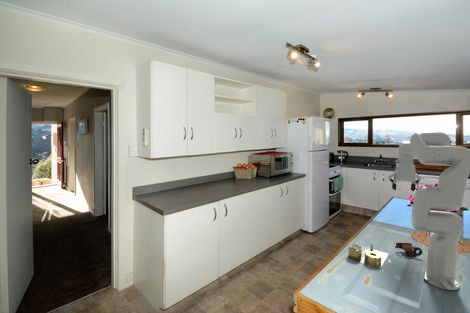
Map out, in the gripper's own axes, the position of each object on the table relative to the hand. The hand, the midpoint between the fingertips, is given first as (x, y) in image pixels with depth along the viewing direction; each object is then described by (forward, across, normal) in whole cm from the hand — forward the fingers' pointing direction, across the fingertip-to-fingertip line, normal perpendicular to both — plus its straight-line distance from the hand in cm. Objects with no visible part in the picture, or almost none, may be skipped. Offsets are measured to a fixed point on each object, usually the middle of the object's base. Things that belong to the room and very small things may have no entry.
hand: (403, 190), depth 145 cm
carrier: (+31, -26, -31) cm, 51 cm away
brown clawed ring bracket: (+31, -4, -23) cm, 39 cm away
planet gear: (+30, -25, -38) cm, 54 cm away
